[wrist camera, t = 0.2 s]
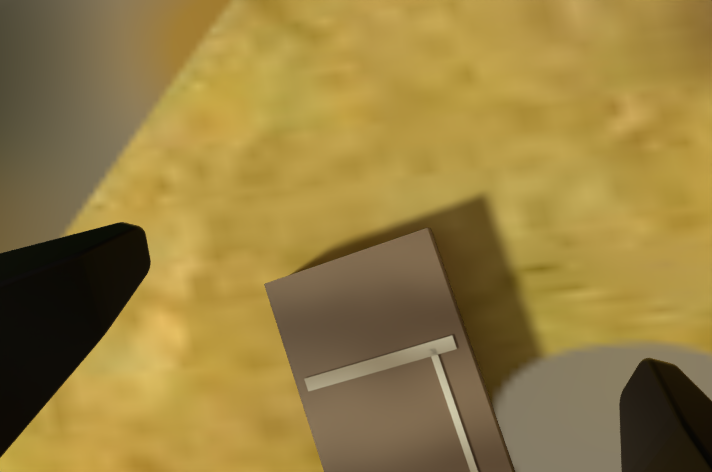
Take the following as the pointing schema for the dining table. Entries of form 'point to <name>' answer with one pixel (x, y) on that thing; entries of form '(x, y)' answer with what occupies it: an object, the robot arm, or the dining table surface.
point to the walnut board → (387, 363)
